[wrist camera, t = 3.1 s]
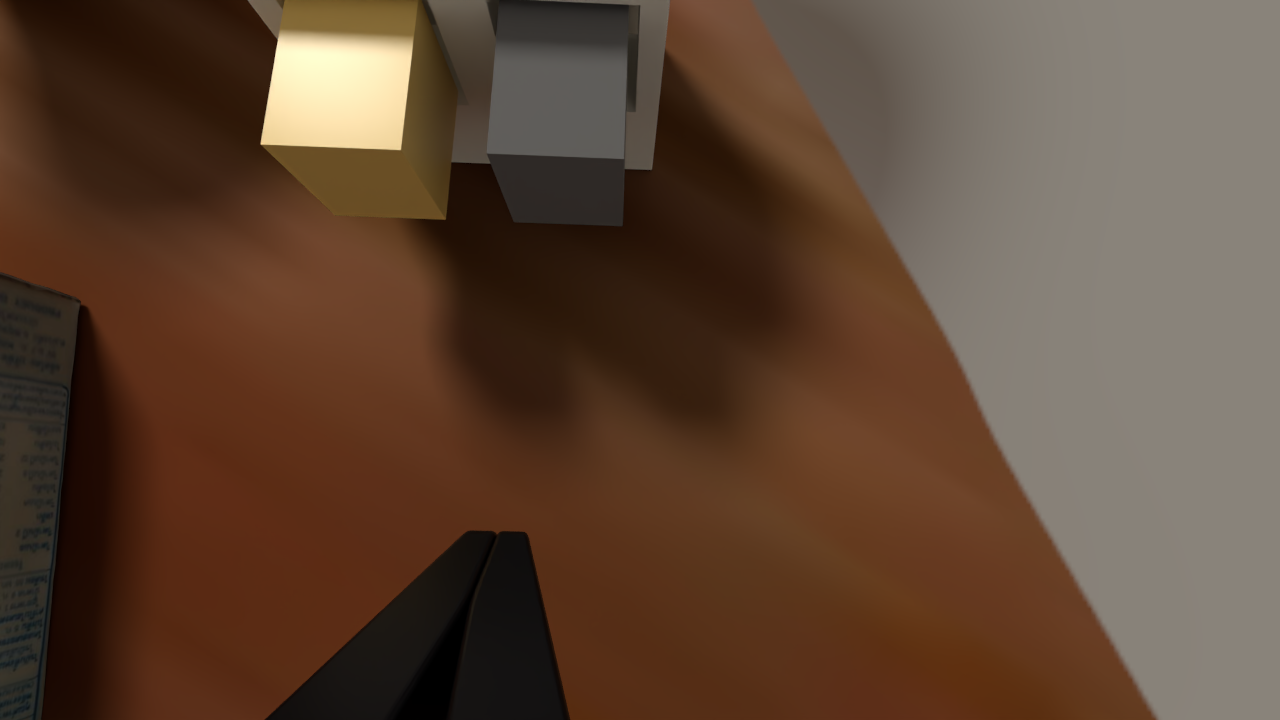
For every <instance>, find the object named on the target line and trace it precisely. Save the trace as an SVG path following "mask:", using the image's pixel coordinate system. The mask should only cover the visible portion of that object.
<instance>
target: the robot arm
mask: <svg viewBox="0 0 1280 720" xmlns="http://www.w3.org/2000/svg"><path fill="white" fill-rule="evenodd" d="M265 720H570V717H569V712H568V708H567V703H566V699H565V695H564V690H563V686H562V681H561V677H560V673H559V668H558V664H557V660H556V655H555V651H554V646H553V642H552V638H551V633H550V629H549V624H548V620H547V616H546V611H545V607H544V603H543V598H542V594H541V589H540V585H539V581H538V576H537V572H536V568H535V563H534V559H533V554H532V550H531V546H530V541H529V537H528V535H527V533H525V532H514V531H501V532H499V533H498V534H496V533H495V532H494V531H467V532H466V533H464V534H463V535H462V536H461V537H460V538H459V539H457V540H456V541H455V542H454V543H453V544H452V545H451V546H450V547H449V548H448V549H447V550H446V551H445V552H444V553H443V554H441V555H440V556H439V557H438V558H437V559H436V560H435V561H434V562H433V563H432V564H431V565H430V566H429V567H428V568H426V569H425V570H424V571H423V572H422V573H421V574H420V575H419V576H418V577H417V578H416V579H415V580H414V581H413V582H411V583H410V584H409V585H408V586H407V587H406V588H405V589H404V590H403V591H402V592H401V593H400V594H399V595H398V596H397V597H395V598H394V599H393V600H392V601H391V602H390V603H389V604H388V605H387V606H386V607H385V608H384V609H383V610H382V611H380V612H379V613H378V614H377V615H376V616H375V617H374V618H373V619H372V620H371V621H370V622H369V623H368V624H367V625H366V626H364V627H363V628H362V629H361V630H360V631H359V632H358V633H357V634H356V635H355V636H354V637H353V638H352V639H351V640H349V641H348V642H347V643H346V644H345V645H344V646H343V647H342V648H341V649H340V650H339V651H338V652H337V653H336V654H334V655H333V656H332V657H331V658H330V659H329V660H328V661H327V662H326V663H325V664H324V665H323V666H322V667H321V668H320V669H318V670H317V671H316V672H315V673H314V674H313V675H312V676H311V677H310V678H309V679H308V680H307V681H306V682H305V683H303V684H302V685H301V686H300V687H299V688H298V689H297V690H296V691H295V692H294V693H293V694H292V695H291V696H290V697H288V698H287V699H286V700H285V701H284V702H283V703H282V704H281V705H280V706H279V707H278V708H277V709H276V710H275V711H274V712H272V713H271V714H270V715H269V716H268V717H267V718H266V719H265Z"/></svg>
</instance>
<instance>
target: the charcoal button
mask: <svg viewBox="0 0 1280 720" xmlns="http://www.w3.org/2000/svg"><path fill="white" fill-rule="evenodd" d="M628 24H629V5H623V4H602V3H581V2H560V1H539V0H499V10H498V22H497V34H496V46H495V58H494V70H493V82H492V94H491V106H490V118H489V130H488V142H487V156H488V158H489V161H490V163H491V166H492V168H493V171H494V173H495V176H496V178H497V181H498V184H499V186H500V189H501V191H502V194H503V196H504V199H505V201H506V204H507V206H508V209H509V211H510V214H511V216H512V219H513V221H514V222H522V223H549V224H576V225H603V226H623V205H624V174H625V142H626V111H627V70H628Z"/></svg>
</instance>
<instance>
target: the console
mask: <svg viewBox="0 0 1280 720" xmlns="http://www.w3.org/2000/svg"><path fill="white" fill-rule="evenodd" d="M284 1H285V0H248V2H249V3H250V4H251V6H252V7H253V8H254V9H255V11H256V12H257V13H258V15H259V16H260V17H261V19H262V20H263V21H264V23H265V24H266V25H267V26H268V28H269V29H270V30H271V32H272V33H273V34H274V36H275V37H276V38H277V40H278V37H279V31H280V25H281V19H282V13H283V7H284ZM421 1H422V3H423V5H424V8H425V10H426V13H427V15H428V18H429V20H430V23H431V25H432V28H433V30H434V33H435V35H436V37H437V40H438V42H439V45H440V47H441V50H442V52H443V55H444V57H445V60H446V62H447V65H448V67H449V70H450V72H451V74H452V77H453V79H454V82H455V84H456V87H457V89H458V99H457V110H456V120H455V131H454V141H453V152H452V162H462V163H487V164H491V163H490V161H489V158H488V156H487V142H488V130H489V118H490V106H491V94H492V82H493V70H494V58H495V46H496V34H497V22H498V10H499V0H421ZM539 1H560V2H581V3H602V4H623V5H629V24H628V70H627V111H626V142H625V169H639V170H652V166H653V156H654V147H655V137H656V128H657V118H658V109H659V100H660V90H661V81H662V71H663V62H664V52H665V43H666V33H667V24H668V15H669V5H670V0H539Z"/></svg>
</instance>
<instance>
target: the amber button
mask: <svg viewBox="0 0 1280 720" xmlns="http://www.w3.org/2000/svg"><path fill="white" fill-rule="evenodd" d="M457 99H458V89H457V87H456V84H455V82H454V79H453V77H452V74H451V72H450V70H449V67H448V65H447V62H446V60H445V57H444V55H443V52H442V50H441V47H440V45H439V42H438V40H437V37H436V35H435V33H434V30H433V28H432V25H431V23H430V20H429V18H428V15H427V13H426V10H425V8H424V5H423V3H422V1H421V0H285V1H284V7H283V13H282V19H281V25H280V31H279V37H278V43H277V49H276V55H275V61H274V67H273V73H272V79H271V85H270V91H269V97H268V103H267V109H266V115H265V121H264V127H263V133H262V139H261V145H262V146H263V147H264V148H265V149H266V150H267V151H268V152H269V153H270V154H271V155H272V156H273V157H274V158H275V159H276V160H277V161H278V162H280V163H281V164H282V165H283V166H284V167H285V168H286V169H287V170H288V171H289V172H290V173H291V174H292V175H293V176H294V177H295V178H296V179H297V180H298V181H299V182H300V183H302V184H303V185H304V186H305V187H306V188H307V189H308V190H309V191H310V192H311V193H312V194H313V195H314V196H315V197H316V198H317V199H318V200H319V201H320V202H321V203H322V204H324V205H325V206H326V207H327V208H328V209H329V210H330V211H331V212H332V213H333V214H334V215H335V216H359V217H386V218H413V219H440V220H446V214H447V204H448V193H449V183H450V173H451V162H452V152H453V141H454V131H455V120H456V110H457Z"/></svg>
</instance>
